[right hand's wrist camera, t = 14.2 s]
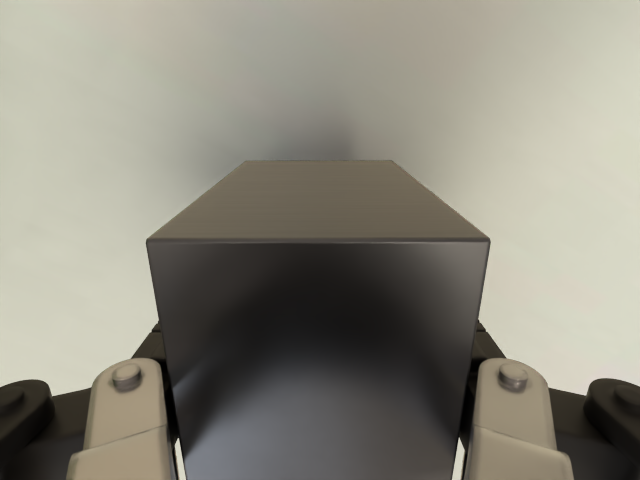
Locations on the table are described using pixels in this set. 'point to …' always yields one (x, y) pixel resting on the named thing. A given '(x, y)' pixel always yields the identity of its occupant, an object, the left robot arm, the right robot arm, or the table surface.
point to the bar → (318, 323)
